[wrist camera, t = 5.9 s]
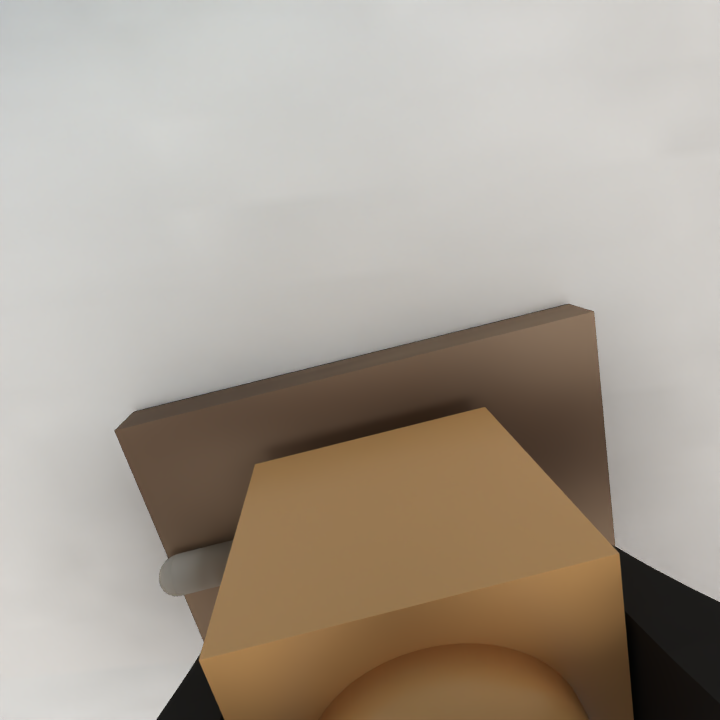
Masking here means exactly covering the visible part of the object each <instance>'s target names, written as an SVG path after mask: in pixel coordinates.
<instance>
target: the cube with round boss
mask: <svg viewBox="0 0 720 720" xmlns="http://www.w3.org/2000/svg"><path fill="white" fill-rule="evenodd" d="M199 662H200V664H201V667H202V669H203V671H204V674H205V676H206V678H207V681H208V683H209V685H210V688H211V690H212V692H213V694H214V697H215V699H216V701H217V704H218V706H219V708H220V711H221V713H222V715H223V718H224V720H634V716H633V704H632V693H631V681H630V670H629V658H628V647H627V635H626V624H625V612H624V601H623V589H622V578H621V566H620V555H619V552H618V551H617V550H616V549H615V548H614V547H613V546H612V545H611V544H610V543H609V542H608V540H607V539H606V538H605V537H604V536H603V535H602V534H601V533H600V532H599V531H598V530H597V529H596V527H595V526H594V525H593V524H592V523H591V522H590V521H589V520H588V519H587V518H586V517H585V515H584V514H583V513H582V512H581V511H580V510H579V509H578V508H577V507H576V506H575V505H574V503H573V502H572V501H571V500H570V499H569V498H568V497H567V496H566V495H565V494H564V493H563V491H562V490H561V489H560V488H559V487H558V486H557V485H556V484H555V483H554V482H553V481H552V479H551V478H550V477H549V476H548V475H547V474H546V473H545V472H544V471H543V470H542V469H541V467H540V466H539V465H538V464H537V463H536V462H535V461H534V460H533V459H532V458H531V457H530V455H529V454H528V453H527V452H526V451H525V450H524V449H523V448H522V447H521V446H520V445H519V443H518V442H517V441H516V440H515V439H514V438H513V437H512V436H511V435H510V434H509V433H508V431H507V430H506V429H505V428H504V427H503V426H502V425H501V424H500V423H499V422H498V421H497V419H496V418H495V417H494V416H493V415H492V414H491V413H490V412H489V411H488V410H487V409H486V407H482V408H478V409H474V410H470V411H466V412H462V413H458V414H454V415H450V416H446V417H442V418H438V419H434V420H430V421H426V422H422V423H418V424H414V425H410V426H406V427H402V428H398V429H394V430H390V431H386V432H382V433H378V434H374V435H370V436H366V437H362V438H358V439H354V440H350V441H346V442H342V443H338V444H334V445H330V446H326V447H322V448H318V449H314V450H310V451H306V452H302V453H298V454H294V455H290V456H286V457H282V458H278V459H274V460H270V461H266V462H262V463H258V464H255V466H254V470H253V473H252V477H251V480H250V484H249V487H248V491H247V494H246V498H245V501H244V505H243V508H242V512H241V515H240V518H239V522H238V525H237V529H236V532H235V536H234V539H233V543H232V546H231V550H230V553H229V557H228V560H227V564H226V567H225V571H224V574H223V578H222V581H221V585H220V588H219V592H218V595H217V598H216V602H215V605H214V609H213V612H212V616H211V619H210V623H209V626H208V630H207V633H206V637H205V640H204V644H203V647H202V651H201V654H200V658H199Z"/></svg>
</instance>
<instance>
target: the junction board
mask: <svg viewBox="0 0 720 720" xmlns="http://www.w3.org/2000/svg"><path fill="white" fill-rule="evenodd" d="M482 407H486V409H487V410H488V411H489V412H490V413H491V414H492V415H493V416H494V417H495V418H496V419H497V421H498V422H499V423H500V424H501V425H502V426H503V427H504V428H505V429H506V430H507V431H508V433H509V434H510V435H511V436H512V437H513V438H514V439H515V440H516V441H517V442H518V443H519V445H520V446H521V447H522V448H523V449H524V450H525V451H526V452H527V453H528V454H529V455H530V457H531V458H532V459H533V460H534V461H535V462H536V463H537V464H538V465H539V466H540V467H541V469H542V470H543V471H544V472H545V473H546V474H547V475H548V476H549V477H550V478H551V479H552V481H553V482H554V483H555V484H556V485H557V486H558V487H559V488H560V489H561V490H562V491H563V493H564V494H565V495H566V496H567V497H568V498H569V499H570V500H571V501H572V502H573V503H574V505H575V506H576V507H577V508H578V509H579V510H580V511H581V512H582V513H583V514H584V515H585V517H586V518H587V519H588V520H589V521H590V522H591V523H592V524H593V525H594V526H595V527H596V529H597V530H598V531H599V532H600V533H601V534H602V535H603V536H604V537H605V538H606V539H607V540H608V542H609V543H610V544H612V545H613V546H615V539H614V528H613V517H612V506H611V495H610V484H609V473H608V462H607V450H606V439H605V428H604V417H603V406H602V395H601V384H600V372H599V361H598V350H597V339H596V328H595V317H594V311H591V310H587V309H584V308H581V307H577V306H574V305H571V304H567V305H563V306H559V307H555V308H551V309H547V310H543V311H539V312H535V313H531V314H527V315H523V316H519V317H514V318H510V319H506V320H502V321H498V322H494V323H490V324H486V325H482V326H478V327H474V328H470V329H466V330H462V331H458V332H454V333H450V334H446V335H442V336H438V337H434V338H430V339H426V340H422V341H418V342H414V343H410V344H406V345H402V346H397V347H393V348H389V349H385V350H381V351H377V352H373V353H369V354H365V355H361V356H357V357H353V358H349V359H345V360H341V361H337V362H333V363H329V364H325V365H321V366H317V367H313V368H309V369H305V370H301V371H297V372H293V373H289V374H284V375H280V376H276V377H272V378H268V379H264V380H260V381H256V382H252V383H248V384H244V385H240V386H236V387H232V388H228V389H224V390H220V391H216V392H212V393H208V394H204V395H200V396H196V397H192V398H188V399H184V400H180V401H176V402H172V403H167V404H163V405H159V406H155V407H151V408H147V409H143V410H139V411H135V412H133V413H132V414H131V415H130V416H129V417H128V418H127V419H126V420H125V421H124V422H123V423H122V424H121V425H120V426H119V427H118V428H117V429H116V430H115V433H116V435H117V438H118V440H119V443H120V445H121V447H122V450H123V452H124V454H125V457H126V459H127V461H128V464H129V466H130V469H131V471H132V473H133V476H134V478H135V480H136V483H137V485H138V487H139V490H140V492H141V495H142V497H143V499H144V502H145V504H146V506H147V509H148V511H149V513H150V516H151V518H152V521H153V523H154V525H155V528H156V530H157V532H158V535H159V537H160V539H161V542H162V544H163V547H164V549H165V551H166V554H167V556H168V558H169V559H168V560H166V561H165V563H164V564H163V566H162V567H161V570H160V573H159V582H160V586H161V588H162V589H163V590H164V592H166V593H167V594H169V595H172V596H182V595H184V596H185V599H186V601H187V603H188V606H189V608H190V610H191V613H192V615H193V617H194V620H195V622H196V624H197V627H198V629H199V632H200V634H201V636H202V639H203V641H204V640H205V637H206V633H207V630H208V626H209V623H210V619H211V616H212V612H213V609H214V605H215V602H216V598H217V595H218V592H219V588H220V585H221V581H222V578H223V574H224V571H225V567H226V564H227V560H228V557H229V553H230V550H231V546H232V543H233V539H234V536H235V532H236V529H237V525H238V522H239V518H240V515H241V512H242V508H243V505H244V501H245V498H246V494H247V491H248V487H249V484H250V480H251V477H252V473H253V470H254V466H255V464H258V463H262V462H266V461H270V460H274V459H278V458H282V457H286V456H290V455H294V454H298V453H302V452H306V451H310V450H314V449H318V448H322V447H326V446H330V445H334V444H338V443H342V442H346V441H350V440H354V439H358V438H362V437H366V436H370V435H374V434H378V433H382V432H386V431H390V430H394V429H398V428H402V427H406V426H410V425H414V424H418V423H422V422H426V421H430V420H434V419H438V418H442V417H446V416H450V415H454V414H458V413H462V412H466V411H470V410H474V409H478V408H482Z"/></svg>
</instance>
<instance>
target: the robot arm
mask: <svg viewBox="0 0 720 720" xmlns="http://www.w3.org/2000/svg"><path fill="white" fill-rule="evenodd" d="M611 545H612V544H611ZM612 546H613V545H612ZM613 547H614V548H615V549H616V550H617V551H618V552H619V555H620V566H621V578H622V589H623V601H624V612H625V624H626V635H627V647H628V658H629V670H630V681H631V693H632V704H633V716H634V720H720V602H718V601H716V600H714V599H712V598H710V597H708V596H706V595H704V594H702V593H700V592H698V591H696V590H694V589H692V588H690V587H688V586H686V585H684V584H682V583H680V582H678V581H676V580H674V579H673V578H671V577H669V576H667V575H665V574H663V573H661V572H659V571H657V570H655V569H654V568H652V567H650V566H648V565H646V564H645V563H643V562H641V561H639V560H637V559H636V558H634V557H632V556H630V555H629V554H627V553H625V552H624V551H622V550H620V549H619V548H617V547H615V546H613ZM200 654H201V653H200ZM199 658H200V655H199V656H198V658H197V660H196V661H195V663H194V664H193V666H192V668H191V669H190V671H189V672H188V674H187V675H186V677H185V678H184V680H183V681H182V683H181V684H180V686H179V687H178V689H177V690H176V692H175V693H174V695H173V696H172V698H171V699H170V700H169V702H168V703H167V705H166V706H165V708H164V709H163V711H162V712H161V714H160V715H159V717H158V718H157V720H224V718H223V715H222V713H221V711H220V708H219V706H218V704H217V701H216V699H215V697H214V694H213V692H212V690H211V688H210V685H209V683H208V681H207V678H206V676H205V674H204V671H203V669H202V667H201V664H200V662H199Z"/></svg>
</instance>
